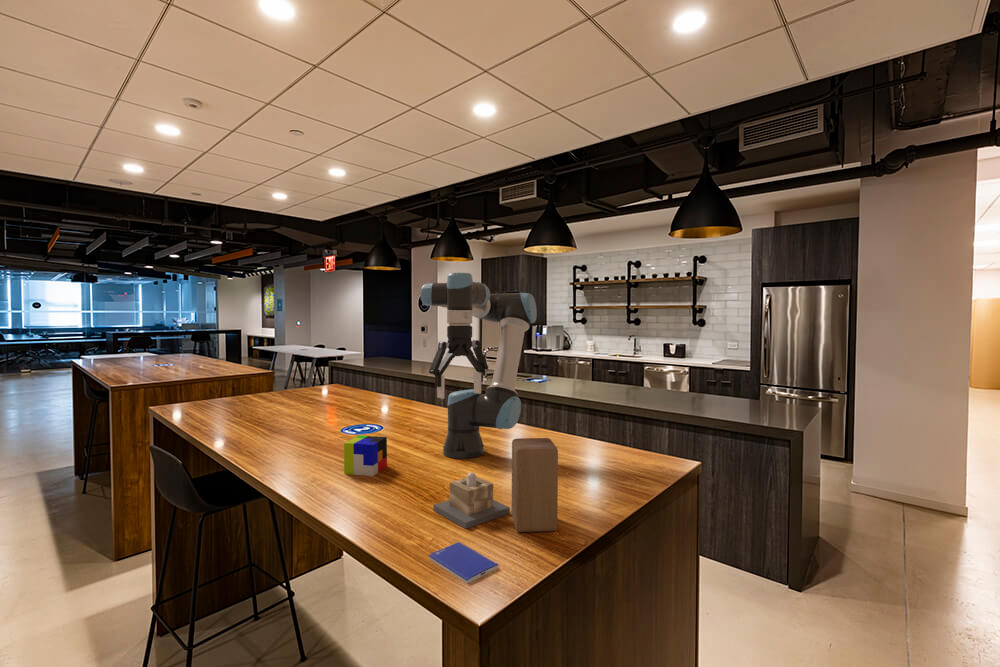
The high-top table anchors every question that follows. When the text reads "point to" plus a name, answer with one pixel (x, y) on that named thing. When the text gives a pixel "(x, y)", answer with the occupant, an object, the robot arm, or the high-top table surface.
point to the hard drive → (463, 562)
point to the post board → (474, 518)
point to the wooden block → (534, 484)
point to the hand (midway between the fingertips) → (459, 395)
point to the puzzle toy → (365, 455)
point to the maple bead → (471, 496)
